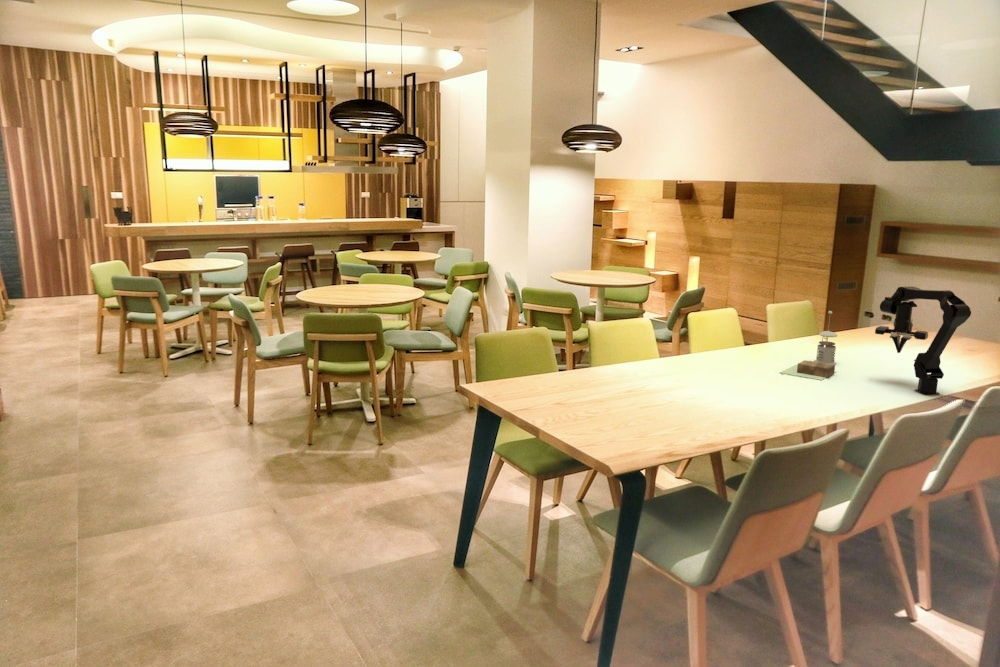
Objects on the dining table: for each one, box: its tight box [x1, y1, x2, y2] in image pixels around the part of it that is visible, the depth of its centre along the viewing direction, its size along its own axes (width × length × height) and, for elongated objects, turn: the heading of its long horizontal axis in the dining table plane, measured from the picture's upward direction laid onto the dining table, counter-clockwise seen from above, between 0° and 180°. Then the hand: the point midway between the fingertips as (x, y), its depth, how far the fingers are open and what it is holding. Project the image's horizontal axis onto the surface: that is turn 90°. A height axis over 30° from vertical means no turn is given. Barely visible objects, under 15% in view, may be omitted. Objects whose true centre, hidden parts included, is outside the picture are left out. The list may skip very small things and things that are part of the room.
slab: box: [797, 360, 836, 379], centre depth 309 cm, size 4×9×13 cm
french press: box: [813, 310, 838, 366], centre depth 328 cm, size 10×12×25 cm
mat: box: [779, 364, 837, 381], centre depth 311 cm, size 18×20×1 cm
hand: (898, 352), depth 293 cm, fingers closed
